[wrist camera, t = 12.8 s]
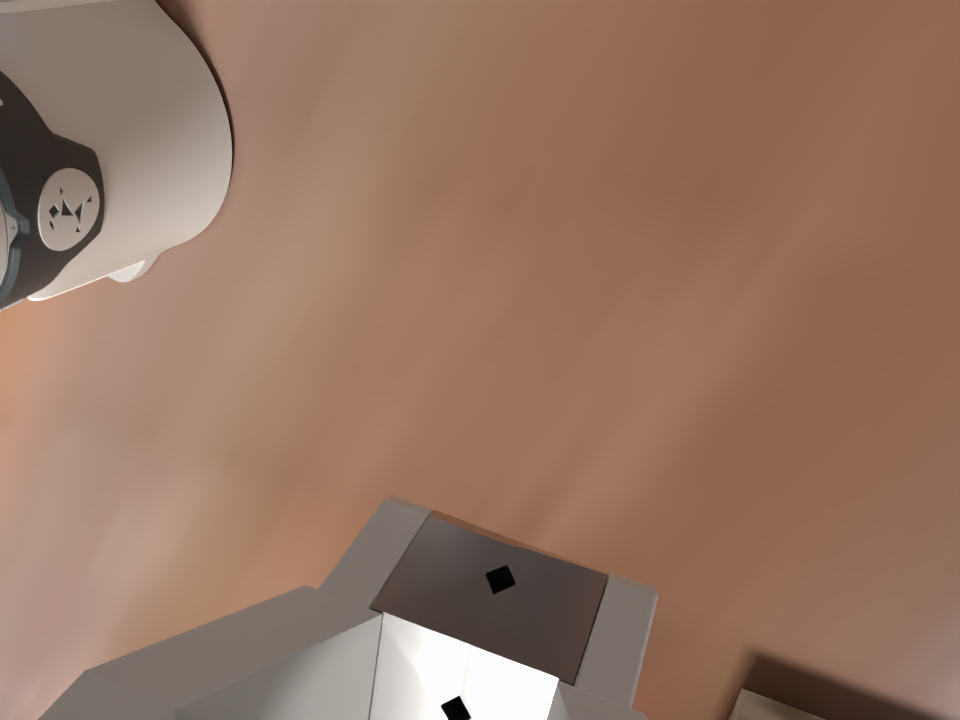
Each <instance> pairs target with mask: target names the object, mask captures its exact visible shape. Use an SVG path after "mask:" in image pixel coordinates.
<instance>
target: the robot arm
mask: <svg viewBox="0 0 960 720" xmlns="http://www.w3.org/2000/svg"><path fill="white" fill-rule="evenodd" d="M231 167H232V142H231V133H230V126H229V121H228V117H227V113H226V109H225V106H224V103H223V99H222V96H221V94H220V91H219V89H218V86H217V84H216V82H215V80H214V77H213V75H212V73H211V72H210V70H209V68H208V66H207V64H206V63H205V61H204V59H203V58H202V56H201V54H200V53H199V52H198V50H197V49H196V47H195V46H194V44H193V43H192V42H191V41H190V39H189V38H188V37H187V36H186V34H185V33H184V32H183V31H182V30H181V29H180V28H179V27H178V26H177V25H176V24H175V23H174V21H173V20H172V19H171V18H170V17H169V16H168V15H167V14H166V13H165V12H164V11H163V10H162V9H161V8H160V6H159V5H158V4H157V3H156V1H155V0H0V312H1V311H2V310H4V309H8V308H10V307H12V306H14V305H16V304H18V303H20V302H22V301H24V300H23V298H25V297H27V298H28V299H29V300H31V301H41V300H46V299H49V298H51V297H54V296H57V295H59V294H62V293H65V292H67V291H70V290H73V289H75V288H78V287H80V286H83V285H86V284H88V283H91V282H93V281H96V280H98V279H101V278H104V277H106V276H108V277H110V278H112V279H114V280H116V281H119V282H128V281H131V280H133V279H136V278H139V277H140V276H142V275H143V274H144V273H145V272H146V271H147V270H148V269H149V268H150V266H151V265H152V264H153V262H154V261H155V259H156V258H157V257H158V255H159V254H160V253H162V252H163V251H165V250H167V249H169V248H171V247H174V246H176V245H179V244H181V243H184V242H186V241H188V240H190V239H192V238H193V237H195V236H196V235H198V234H199V233H200V232H201V231H203V230H204V229H205V228H206V227H207V226H208V225H209V223H210V222H211V221H212V220H213V218H214V217H215V215H216V214H217V212H218V211H219V209H220V207H221V205H222V203H223V200H224V198H225V195H226V192H227V189H228V185H229V181H230V175H231ZM608 575H609V572H606V571H603V570H600V569H597V568H594V567H591V566H588V565H585V564H583V563H580V562H577V561H574V560H571V559H568V558H565V557H562V556H559V555H556V554H553V553H550V552H547V551H545V550H542V549H539V548H536V547H533V546H530V545H527V544H524V543H520V542H518V541H516V540H513V539H510V538H508V537H505V536H502V535H500V534H497V533H494V532H492V531H489V530H486V529H484V528H481V527H478V526H476V525H473V524H470V523H468V522H465V521H462V520H460V519H457V518H454V517H452V516H449V515H447V514H444V513H441V512H439V511H436V510H435V511H432V510H431V509H428V508H425V507H423V506H420V505H417V504H415V503H412V502H409V501H407V500H404V499H401V498H399V497H396V496H394V495H392V496H391V497H389V498H388V499H386V500H384V501H383V502H382V503H381V504H380V506H379V507H378V508H377V510H376V511H375V513H374V514H373V515H372V517H371V518H370V519H369V521H368V522H367V523H366V525H365V526H364V528H363V529H362V530H361V532H360V533H359V534H358V536H357V537H356V539H355V540H354V541H353V543H352V544H351V545H350V547H349V548H348V550H347V551H346V552H345V554H344V555H343V556H342V558H341V559H340V560H339V562H338V563H337V565H336V566H335V567H334V569H333V570H332V571H331V573H330V574H329V576H328V577H327V578H326V580H325V581H324V582H323V584H322V585H321V587H320V588H319V589H315V588H313V587H310V586H307V585H304V586H302V587H299V588H296V589H294V590H291V591H289V592H286V593H284V594H281V595H278V596H276V597H273V598H271V599H268V600H266V601H263V602H260V603H258V604H255V605H253V606H250V607H248V608H245V609H243V610H240V611H237V612H235V613H232V614H230V615H227V616H225V617H222V618H219V619H217V620H214V621H212V622H209V623H207V624H204V625H201V626H199V627H196V628H194V629H191V630H189V631H186V632H183V633H181V634H178V635H176V636H173V637H171V638H168V639H165V640H163V641H160V642H158V643H155V644H153V645H150V646H147V647H145V648H142V649H140V650H137V651H135V652H132V653H129V654H127V655H124V656H122V657H119V658H117V659H114V660H111V661H109V662H106V663H104V664H101V665H99V666H96V667H93V668H91V669H88V670H86V671H84V672H83V673H82V674H81V675H80V676H79V677H78V678H77V679H76V681H75V682H74V683H73V684H72V685H71V686H70V687H69V688H68V689H67V690H66V691H65V692H64V693H63V694H62V695H61V696H60V697H59V698H58V699H57V700H56V701H55V702H54V703H53V705H52V706H51V707H50V708H49V709H48V710H47V711H46V712H45V713H44V714H43V715H42V716H41V717H40V718H39V719H38V720H648V718H647V716H646V715H645V714H643V713H641V712H638V711H636V710H633V709H631V708H632V704H633V700H634V696H635V692H636V687H637V683H638V679H639V675H640V670H641V666H642V662H643V658H644V654H645V649H646V645H647V641H648V637H649V632H650V628H651V624H652V620H653V616H654V611H655V607H656V603H657V599H658V591H657V587H654V586H651V585H648V584H645V583H642V582H639V581H636V580H633V579H630V578H627V577H624V576H621V575H618V574H615V573H612V572H611V574H610V576H609V578H608ZM607 579H608V581H607ZM606 582H607V584H606ZM605 586H606V587H605ZM604 589H605V590H604ZM603 593H604V594H603ZM602 596H603V597H602ZM601 599H602V600H601ZM598 609H599V610H598Z"/></svg>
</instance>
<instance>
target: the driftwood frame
mask: <svg viewBox="0 0 960 720" xmlns="http://www.w3.org/2000/svg"><path fill="white" fill-rule="evenodd" d="M728 720H826V719H823V718H821V717H818V716H815V715H813V714H810V713H807V712H805V711H802V710H799V709H797V708H794V707H791V706H789V705H786V704H783V703H780V702H778V701H775V700H772V699H770V698H767V697H764V696H762V695H759V694H756V693H754V692H751V691H748V690H746V689H743V688H742V689H741V691H740V694H739V696H738V698H737V700H736V703H735V705H734V707H733V709H732V712H731V714H730V716H729V718H728Z"/></svg>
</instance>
